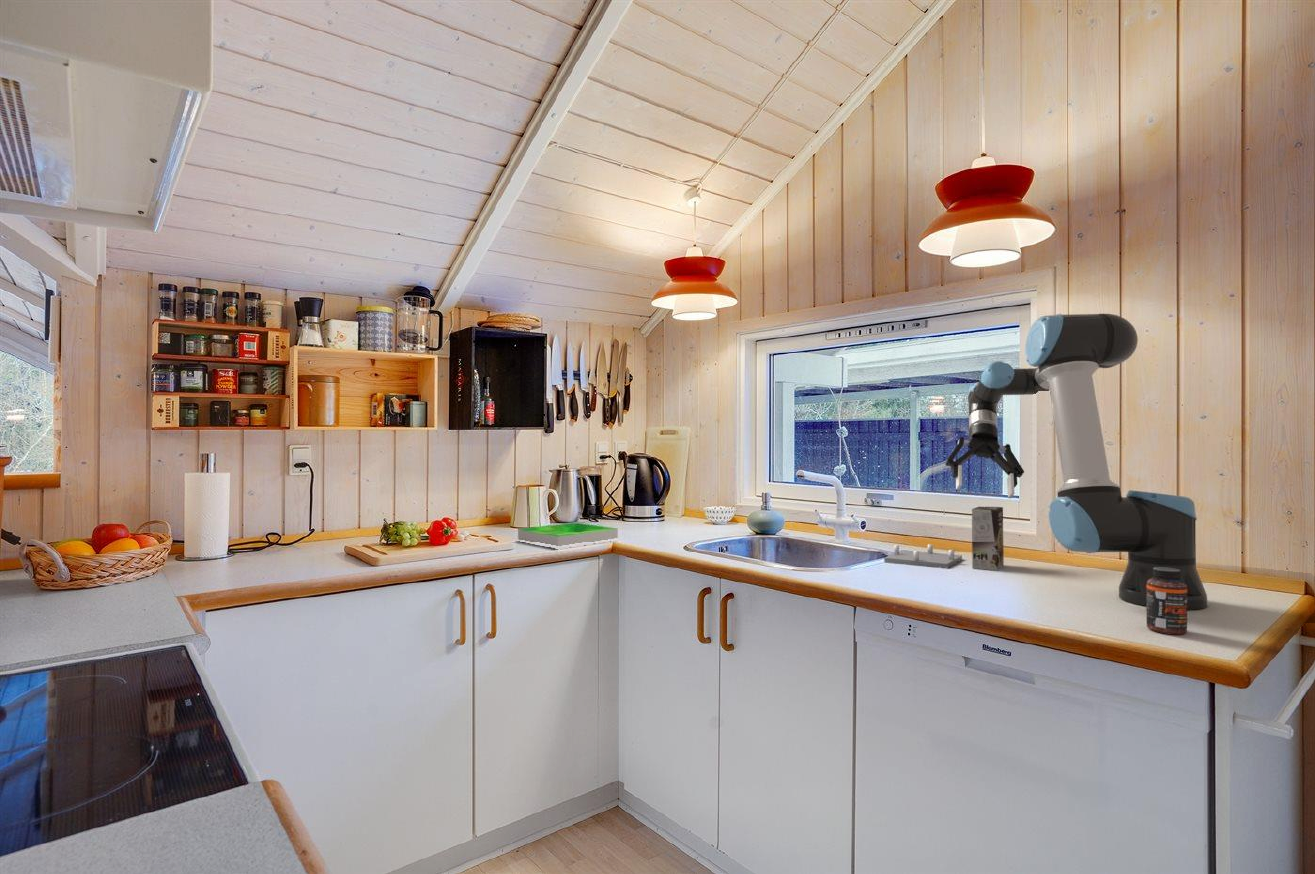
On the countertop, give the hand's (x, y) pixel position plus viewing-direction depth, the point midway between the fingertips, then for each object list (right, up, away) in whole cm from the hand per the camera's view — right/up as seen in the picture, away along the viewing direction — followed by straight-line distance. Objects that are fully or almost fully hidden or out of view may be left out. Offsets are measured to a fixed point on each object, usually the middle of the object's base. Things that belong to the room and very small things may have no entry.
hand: (984, 491), depth 187 cm
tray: (-121, -23, +53) cm, 134 cm away
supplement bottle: (+3, -20, -64) cm, 67 cm away
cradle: (-14, -20, +8) cm, 26 cm away
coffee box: (0, -20, -3) cm, 21 cm away
